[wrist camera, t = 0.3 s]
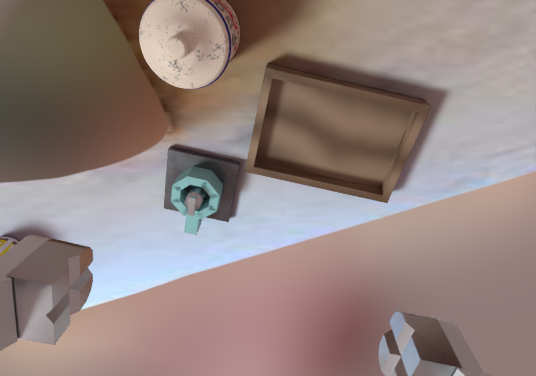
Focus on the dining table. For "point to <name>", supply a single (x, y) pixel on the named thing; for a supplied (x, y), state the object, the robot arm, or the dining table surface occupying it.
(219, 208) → the post stand
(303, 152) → the walnut tray
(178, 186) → the teal ring
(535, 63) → the dining table surface
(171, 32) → the teacup with lid
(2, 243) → the supplement bottle
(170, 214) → the dining table surface
